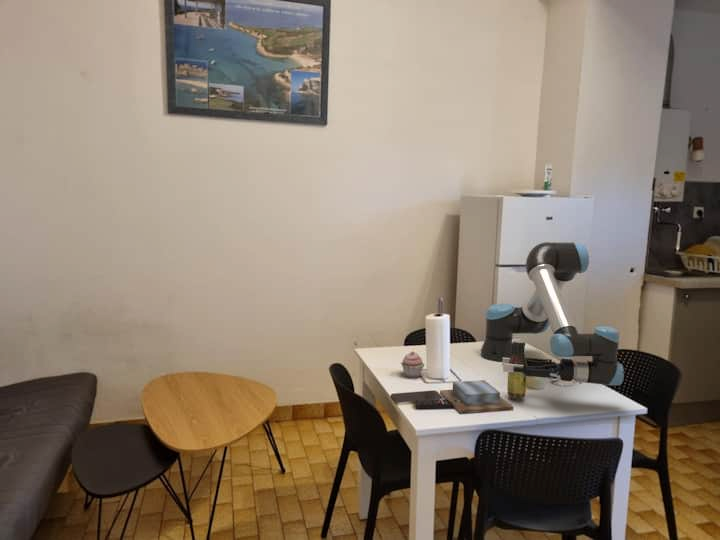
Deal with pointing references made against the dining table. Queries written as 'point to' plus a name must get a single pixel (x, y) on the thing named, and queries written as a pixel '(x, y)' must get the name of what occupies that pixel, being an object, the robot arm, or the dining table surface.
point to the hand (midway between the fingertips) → (503, 364)
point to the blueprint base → (475, 408)
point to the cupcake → (412, 365)
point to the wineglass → (558, 381)
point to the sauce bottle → (517, 379)
